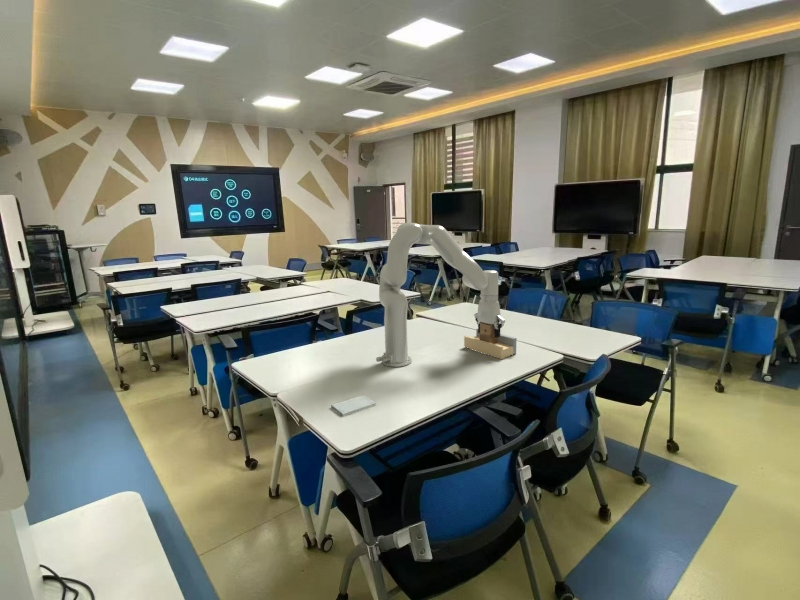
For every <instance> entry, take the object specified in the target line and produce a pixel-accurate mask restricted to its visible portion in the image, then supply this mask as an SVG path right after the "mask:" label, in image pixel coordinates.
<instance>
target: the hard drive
mask: <svg viewBox="0 0 800 600" xmlns="http://www.w3.org/2000/svg"><path fill="white" fill-rule="evenodd" d="M376 405H377V404H376V402H375V401H374V400H372V399H371V398H369V397H368V396H366V395H363V394H362V395H360V396H356V397H353V398H350V399H347V400H344V401H341V402H337V403H334V404H332V405H330V409H332V410H333V411H334V412H336V413H337V414H338V415H340V416H341V417H346V416H350V415H352V414H355V413H357V412H358V413H359V412H360V411H364V410H367V409H369V408H372V407H376Z"/></svg>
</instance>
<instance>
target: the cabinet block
mask: <svg viewBox="0 0 800 600" xmlns="http://www.w3.org/2000/svg"><path fill="white" fill-rule="evenodd" d="M495 329H496V328H495V326H494V325H491V324H486V323H480V340H482V341H486V342H489V343H493V344H495V343H497V338H495V337H494V330H495Z"/></svg>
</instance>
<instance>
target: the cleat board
mask: <svg viewBox="0 0 800 600" xmlns="http://www.w3.org/2000/svg"><path fill="white" fill-rule="evenodd" d="M475 330H476V331H475V332H476V333H475V336H472V337H471V336H467V335H463V336H464V337H463V338H464V339H463V343H464V344H463V347H464V346H465V347H468V348H470V349H469V350H471V349H473V350H472V351H474V350H476V351H475V352H477V351H479V352H478V353H480V352H482V353H481V354H483V353H485V354H484V355H486V354H489V355H492V356H494V357H493V358H495V357H497V358H496V359H498V358H500V360H503V359H506V358H508V357H507V356H509V357H511V356H510V355H512V356H514V355H513V354H515V355H516V354H517V337H514V336H511V335H507V334H502V333H500V337H497V343H495V344H493V343H489V342H486V341H482V340H480V333H478V328H476V329H475ZM489 355H488V356H489ZM492 356H491V357H492ZM505 357H506V358H505ZM502 358H503V359H502Z"/></svg>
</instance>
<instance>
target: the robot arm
mask: <svg viewBox="0 0 800 600" xmlns="http://www.w3.org/2000/svg"><path fill="white" fill-rule="evenodd" d="M415 244H417V245H418V244H419V245H431V246H432V247H433V248H434V249H435V251H437V253H438V254H439V255H440V256H441V257H442V259H443V260H444V261H445V262H446V264H447V265H449V266H451V267H452V268H453V269H456V270H457V271H458V272H459V273H461V274H462V277H461V279H462V283H463V285H465V286H466V287H467V288H471V289H473V290H477V291H480V294H479V297H480V300H479V302H478V305H477V306H478V307H477V312H476V313H474V315H473V316H474V318H475V322H476V325H477V329H478V333H480V323H486V324H491V325H494V326H495V328H496V329H495V330H494V337H495V338H497V337H500V334H501V329H502V328H503V326H504V324H505V322H506V319H504V318H503V317H502V316H501V307H500V301H499V272H498V271H497V270H494V269H491V270H490V269H489V270H486V269H485V270H483V269H482V267H481V266H480V265H479V264H478V262H476V261H475V260H474V259H473V258H472V257H471V256H470V255H469V254H468V253H467V252H465V251H464V250H463V248H462V247H461V246H460V245H459V244H458V242H457V241H455V239H454V237H452V235H451V234H450V233H449V232H448V230H447V229H446V228H445V227H443V226H442V225H440V224H419V223H416V222H404V223H401V224H400V225H398V227H397V229H396V233H394V235H393V236H392V238H391V240H390V241H389V244H388V247H387V256H386V263H385V264H384V265H382V268H381V270H380V272H379V273H380V274H379V289H378V290H379V291H378V292H379V293H378V295H379V298H378V299H379V302H380V305H382V307H384V316H383V317H384V318H383V319H384V320H383V321H384V322H383V324H384V326H383V327H384V344H385V352H383V354H382V355H381V356H377V357H376V358H375V360H376V362H382V364H383V365H385V366H387V367H393V368H394V367H399V368H400V367H404V366H408V365H410V364H411V363H412V357H411V356H409V353H408V324H407V323H408V320H407V319H408V305H409V304H408V302H409V301H408V299H407V296H406V295H405V293H404V292H403V291H401V287H402V286H403V285H404V284H405V283H406V282H407V278H408V277H407V276H408V260H409V259H408V258H409V253H410V250H411V247H412V246H413V245H415Z"/></svg>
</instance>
